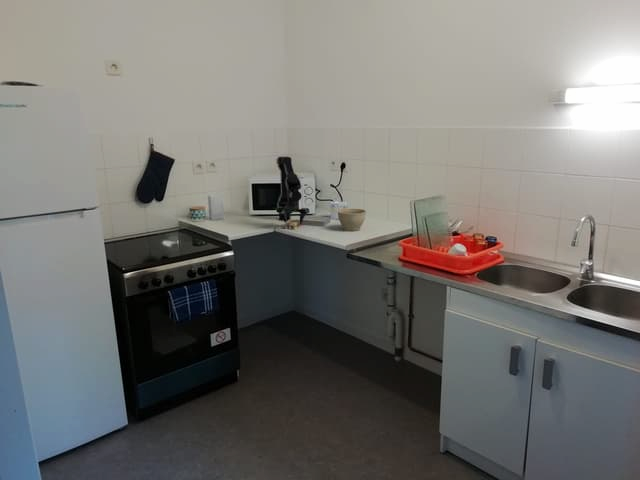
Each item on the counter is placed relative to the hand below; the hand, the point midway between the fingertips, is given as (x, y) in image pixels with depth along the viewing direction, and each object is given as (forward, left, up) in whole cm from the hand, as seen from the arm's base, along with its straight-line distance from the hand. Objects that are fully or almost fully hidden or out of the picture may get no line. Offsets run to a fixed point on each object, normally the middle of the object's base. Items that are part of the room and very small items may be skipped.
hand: (293, 224), depth 292 cm
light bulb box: (+18, +34, -2) cm, 38 cm away
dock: (+8, +15, -2) cm, 17 cm away
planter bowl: (+34, +6, -2) cm, 35 cm away
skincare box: (-56, +8, -2) cm, 57 cm away
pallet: (0, 0, -2) cm, 2 cm away
